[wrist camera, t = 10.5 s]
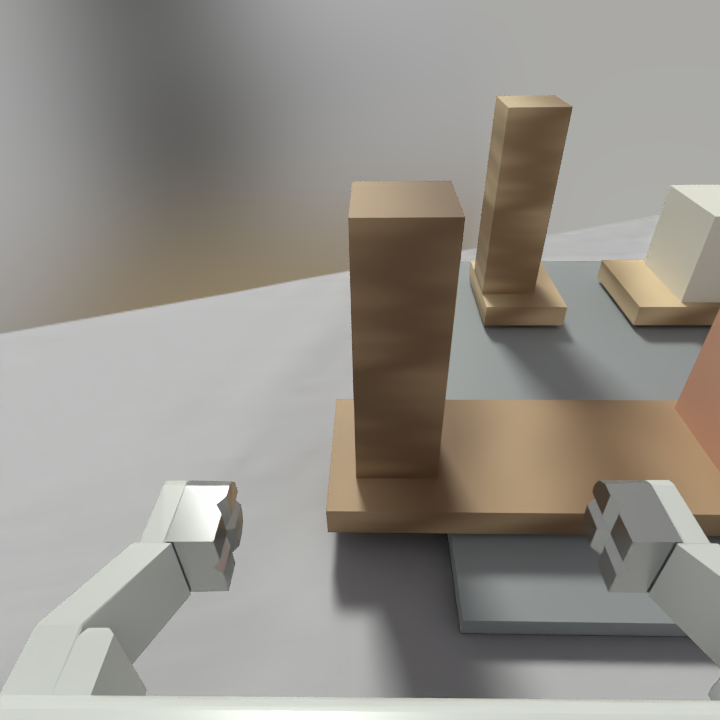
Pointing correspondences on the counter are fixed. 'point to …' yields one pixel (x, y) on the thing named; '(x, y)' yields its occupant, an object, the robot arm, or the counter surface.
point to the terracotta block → (704, 396)
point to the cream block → (688, 243)
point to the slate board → (558, 382)
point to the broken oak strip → (617, 283)
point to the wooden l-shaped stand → (470, 404)
